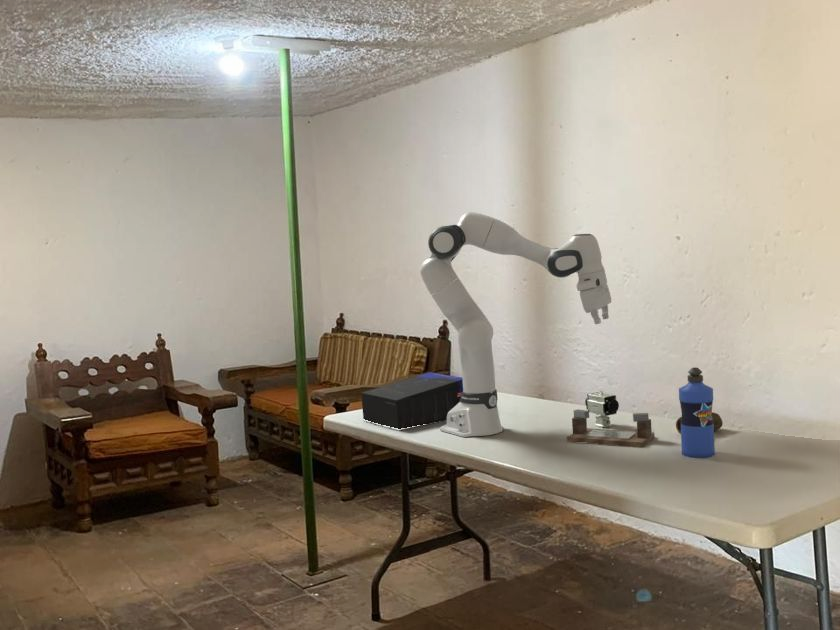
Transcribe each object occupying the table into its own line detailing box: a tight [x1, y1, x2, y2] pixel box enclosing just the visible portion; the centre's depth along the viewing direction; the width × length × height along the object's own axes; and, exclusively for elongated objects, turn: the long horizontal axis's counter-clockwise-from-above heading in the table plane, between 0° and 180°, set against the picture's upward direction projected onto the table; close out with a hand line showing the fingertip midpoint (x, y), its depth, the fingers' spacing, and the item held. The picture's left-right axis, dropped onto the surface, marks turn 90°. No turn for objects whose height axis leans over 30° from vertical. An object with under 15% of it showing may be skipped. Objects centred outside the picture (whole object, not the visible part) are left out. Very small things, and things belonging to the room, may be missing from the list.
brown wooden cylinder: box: [675, 411, 723, 435], centre depth 259 cm, size 15×7×7 cm, turn 119°
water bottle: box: [678, 367, 716, 459], centre depth 236 cm, size 9×9×25 cm
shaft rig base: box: [566, 416, 656, 448], centre depth 259 cm, size 24×13×6 cm, turn 59°
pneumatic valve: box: [584, 390, 620, 428], centre depth 276 cm, size 6×12×12 cm, turn 30°
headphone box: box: [361, 372, 463, 429], centre depth 310 cm, size 25×35×14 cm
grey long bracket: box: [573, 408, 649, 439], centre depth 259 cm, size 24×8×7 cm, turn 59°
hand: (602, 321), depth 273 cm, fingers open, 8 cm apart
